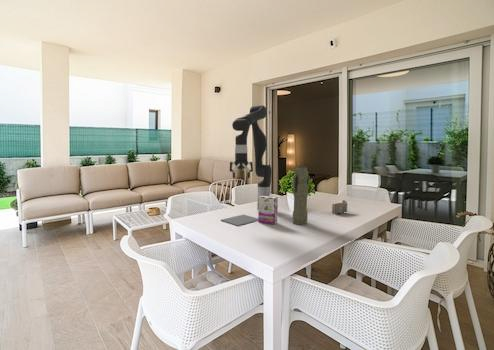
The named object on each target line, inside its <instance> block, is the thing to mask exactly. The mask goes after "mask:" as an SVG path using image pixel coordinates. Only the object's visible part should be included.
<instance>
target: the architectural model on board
mask: <svg viewBox="0 0 494 350" xmlns="http://www.w3.org/2000/svg"><path fill="white" fill-rule="evenodd" d="M341 201H342V202H336V203H332V205H331V208H332V211H331V214H332V213H333V214H332V215H334V214H337V215H339V214H338V213H344V212H347V213H348V203H347V200H345V199H341ZM344 214H345V213H344Z"/></svg>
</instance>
